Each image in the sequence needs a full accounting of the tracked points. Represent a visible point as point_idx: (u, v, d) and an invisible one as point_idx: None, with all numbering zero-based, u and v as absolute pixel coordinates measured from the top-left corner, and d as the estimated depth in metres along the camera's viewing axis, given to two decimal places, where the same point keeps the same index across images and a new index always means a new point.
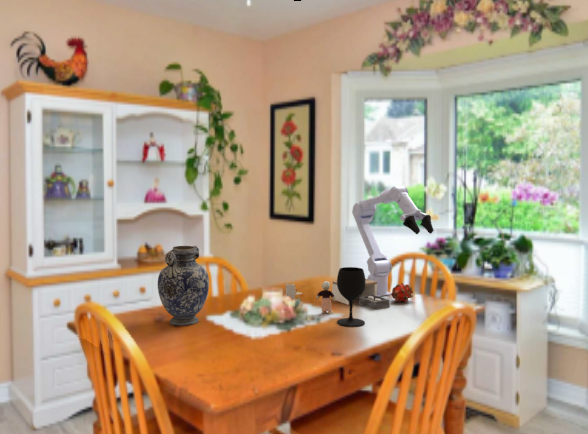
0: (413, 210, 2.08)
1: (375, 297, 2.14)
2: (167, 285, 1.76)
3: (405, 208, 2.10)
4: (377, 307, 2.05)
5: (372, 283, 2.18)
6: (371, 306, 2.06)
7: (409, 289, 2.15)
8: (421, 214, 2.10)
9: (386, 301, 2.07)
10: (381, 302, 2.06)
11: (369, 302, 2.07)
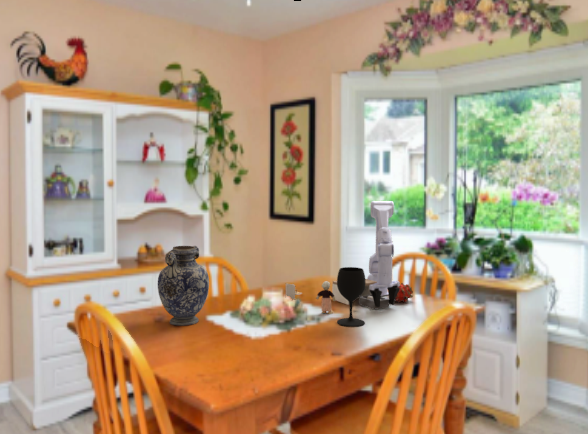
0: (386, 282, 2.01)
1: None
2: (167, 285, 1.76)
3: (380, 275, 2.02)
4: (377, 307, 2.05)
5: (372, 283, 2.18)
6: (370, 306, 2.06)
7: (409, 289, 2.16)
8: None
9: (386, 301, 2.07)
10: (381, 302, 2.06)
11: (369, 302, 2.07)
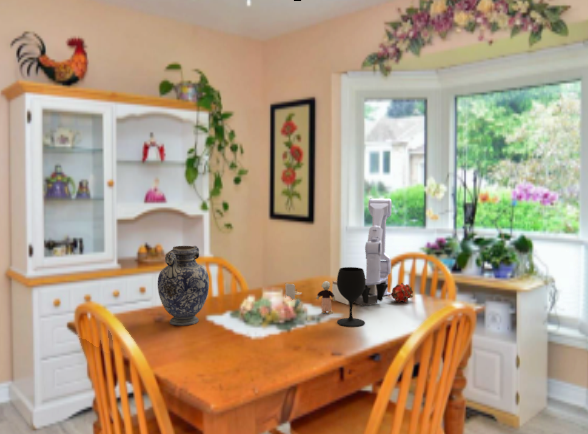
0: (374, 279, 2.07)
1: None
2: (167, 285, 1.76)
3: (369, 272, 2.08)
4: (365, 303, 2.11)
5: None
6: (359, 302, 2.12)
7: (409, 289, 2.15)
8: None
9: (374, 297, 2.13)
10: (369, 298, 2.12)
11: (358, 298, 2.13)
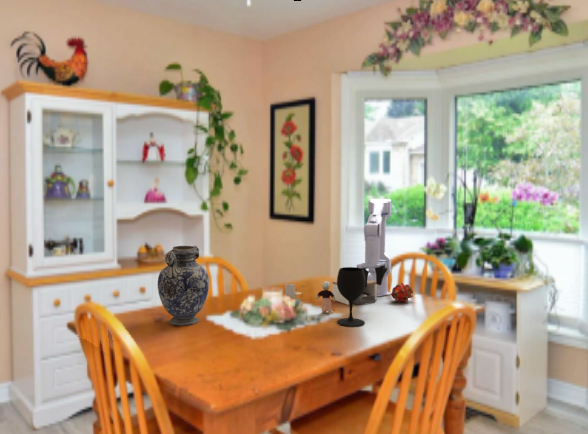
0: (373, 262, 2.01)
1: None
2: (167, 285, 1.76)
3: (367, 255, 2.02)
4: (363, 302, 2.12)
5: (372, 283, 2.18)
6: (356, 302, 2.14)
7: (409, 289, 2.16)
8: (379, 265, 2.04)
9: (372, 297, 2.15)
10: (367, 298, 2.13)
11: None
